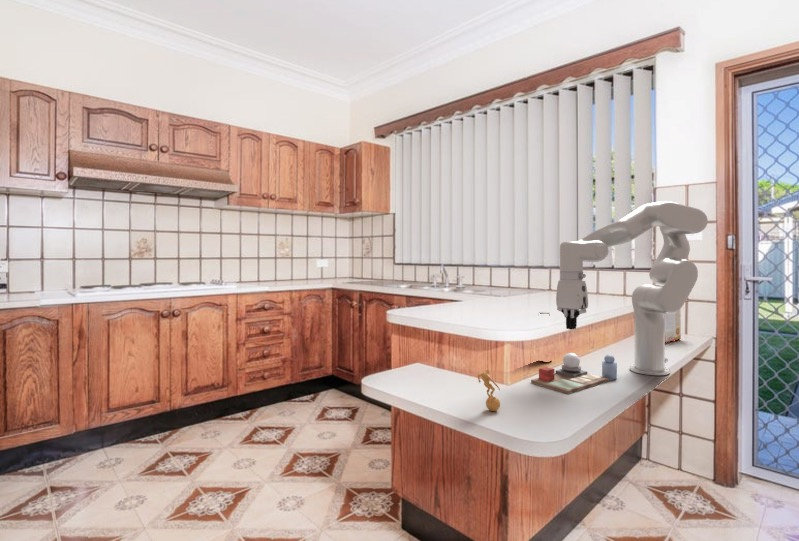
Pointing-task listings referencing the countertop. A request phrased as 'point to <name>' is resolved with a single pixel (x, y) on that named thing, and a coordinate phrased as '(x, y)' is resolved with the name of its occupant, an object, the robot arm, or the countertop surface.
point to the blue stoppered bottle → (609, 368)
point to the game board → (567, 380)
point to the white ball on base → (571, 362)
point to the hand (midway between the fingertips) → (571, 328)
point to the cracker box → (672, 326)
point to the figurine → (492, 401)
